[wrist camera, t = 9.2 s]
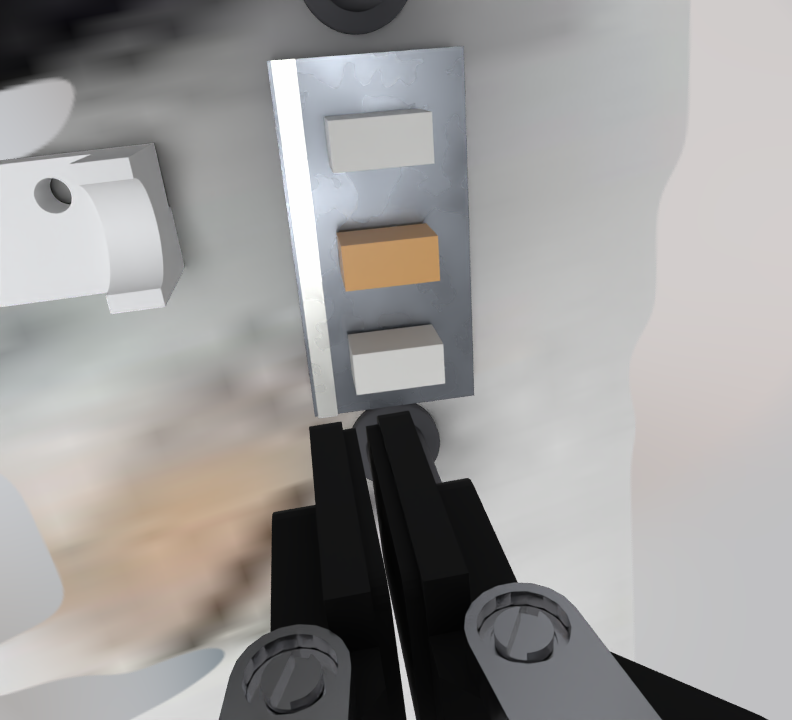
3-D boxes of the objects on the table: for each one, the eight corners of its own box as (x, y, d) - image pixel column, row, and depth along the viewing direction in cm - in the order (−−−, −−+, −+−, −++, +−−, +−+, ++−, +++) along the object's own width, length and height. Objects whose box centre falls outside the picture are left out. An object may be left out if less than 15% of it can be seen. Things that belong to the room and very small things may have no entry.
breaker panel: (268, 61, 36) (266, 61, 34) (451, 47, 38) (464, 45, 35) (313, 396, 44) (315, 419, 42) (463, 377, 45) (475, 397, 43)
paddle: (323, 116, 35) (327, 120, 32) (419, 108, 36) (432, 111, 33) (329, 165, 36) (333, 173, 33) (422, 156, 36) (434, 163, 34)
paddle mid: (336, 232, 37) (340, 246, 34) (426, 223, 38) (437, 235, 35) (341, 274, 38) (345, 291, 35) (428, 265, 39) (440, 280, 36)
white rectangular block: (347, 334, 40) (352, 355, 37) (431, 324, 40) (443, 344, 37) (351, 371, 41) (356, 395, 38) (433, 361, 41) (445, 383, 38)
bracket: (156, 141, 37) (128, 157, 30) (185, 266, 40) (165, 306, 33) (-94, 169, 36) (-183, 193, 29) (-46, 296, 39) (-117, 345, 32)
